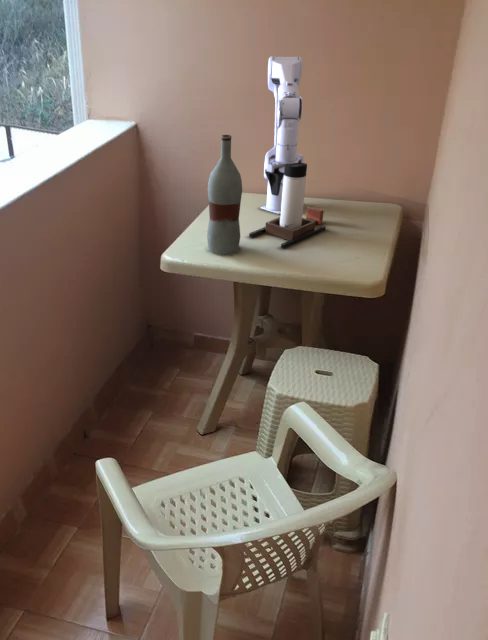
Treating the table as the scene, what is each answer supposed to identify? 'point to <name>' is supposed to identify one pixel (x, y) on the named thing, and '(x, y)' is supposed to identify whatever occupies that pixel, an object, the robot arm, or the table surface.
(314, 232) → the rails
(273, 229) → the carrier
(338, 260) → the table surface
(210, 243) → the bottle
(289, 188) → the travel mug
